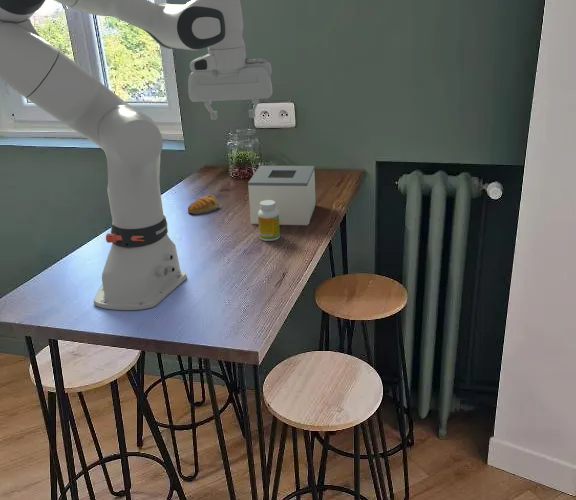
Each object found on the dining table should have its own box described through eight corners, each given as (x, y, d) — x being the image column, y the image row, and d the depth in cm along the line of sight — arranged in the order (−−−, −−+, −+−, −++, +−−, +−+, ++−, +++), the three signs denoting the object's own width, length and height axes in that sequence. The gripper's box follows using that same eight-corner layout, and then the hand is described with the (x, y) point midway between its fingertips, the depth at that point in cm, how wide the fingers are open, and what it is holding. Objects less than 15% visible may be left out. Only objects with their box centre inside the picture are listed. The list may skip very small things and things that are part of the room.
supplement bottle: (277, 242, 155) (275, 206, 151) (257, 241, 156) (254, 205, 152) (281, 233, 159) (280, 199, 155) (262, 233, 160) (259, 198, 156)
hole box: (308, 225, 164) (307, 183, 159) (251, 224, 167) (248, 182, 162) (315, 205, 178) (314, 165, 174) (262, 204, 181) (260, 165, 176)
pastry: (198, 217, 174) (196, 205, 172) (182, 213, 178) (181, 200, 176) (221, 208, 180) (220, 196, 179) (205, 204, 184) (204, 192, 183)
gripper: (272, 55, 145) (276, 113, 150) (188, 60, 146) (195, 117, 152) (269, 59, 139) (274, 119, 145) (182, 64, 141) (190, 122, 146)
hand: (233, 118), depth 148 cm, fingers open, 8 cm apart
